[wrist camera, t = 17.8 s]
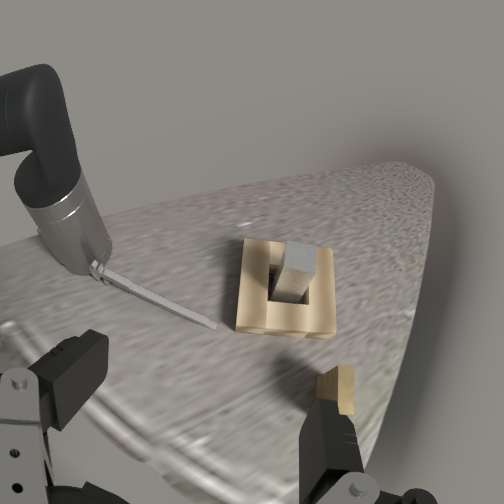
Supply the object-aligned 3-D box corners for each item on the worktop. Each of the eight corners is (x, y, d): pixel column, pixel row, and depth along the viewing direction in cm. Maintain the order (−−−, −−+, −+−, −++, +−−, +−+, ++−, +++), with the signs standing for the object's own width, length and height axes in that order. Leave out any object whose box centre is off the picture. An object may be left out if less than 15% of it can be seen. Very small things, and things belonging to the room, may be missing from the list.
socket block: (235, 331, 45) (236, 325, 43) (243, 248, 53) (244, 238, 50) (329, 339, 46) (336, 333, 44) (326, 258, 54) (332, 248, 51)
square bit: (269, 302, 48) (283, 267, 39) (273, 279, 51) (287, 240, 41) (295, 307, 48) (315, 273, 39) (298, 283, 51) (317, 246, 41)
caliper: (96, 281, 47) (83, 262, 42) (99, 276, 48) (87, 256, 42) (214, 331, 46) (214, 316, 40) (217, 324, 46) (217, 308, 41)
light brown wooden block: (315, 418, 40) (337, 415, 32) (316, 378, 43) (338, 365, 35) (328, 418, 40) (353, 414, 32) (329, 378, 43) (353, 365, 35)
